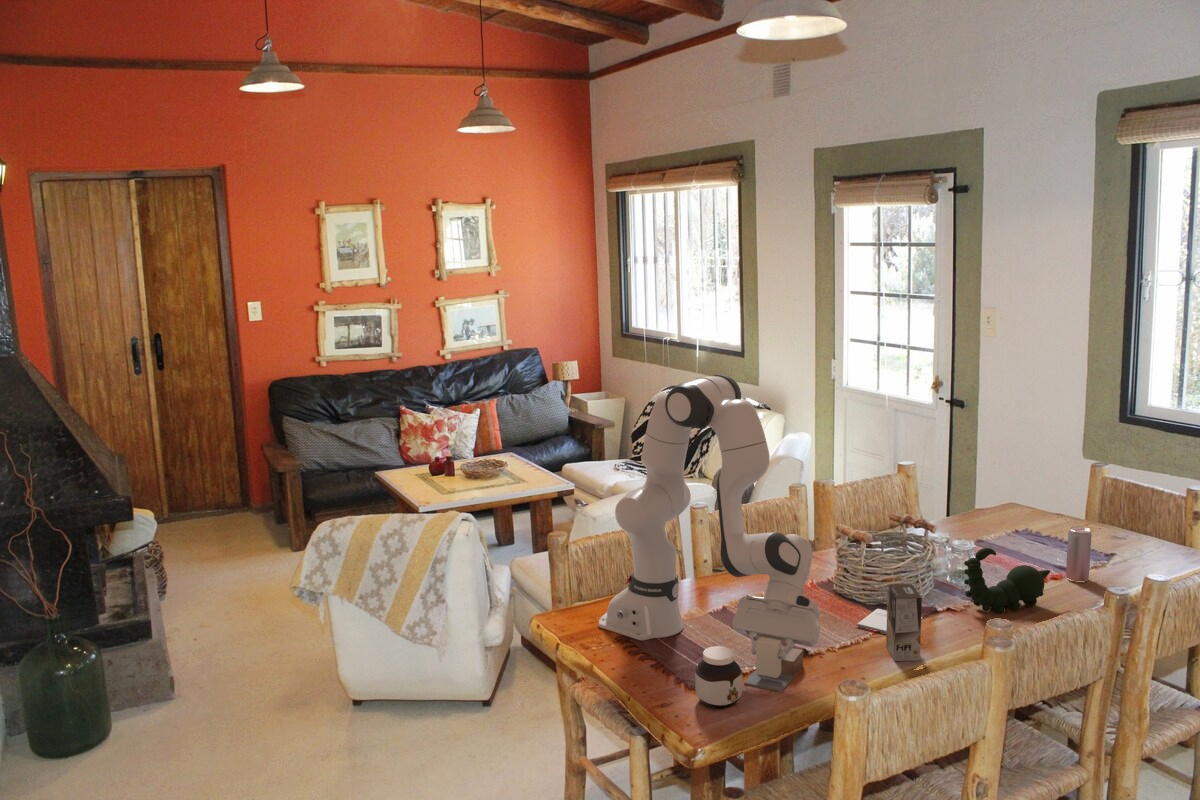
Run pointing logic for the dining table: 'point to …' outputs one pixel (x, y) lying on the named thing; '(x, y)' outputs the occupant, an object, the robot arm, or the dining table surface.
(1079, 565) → the beverage can
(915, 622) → the coffee box
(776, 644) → the block
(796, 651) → the deck
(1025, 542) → the dining table surface
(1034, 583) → the toy figurine
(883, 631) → the external hard drive
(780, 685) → the mat
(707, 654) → the spread jar
